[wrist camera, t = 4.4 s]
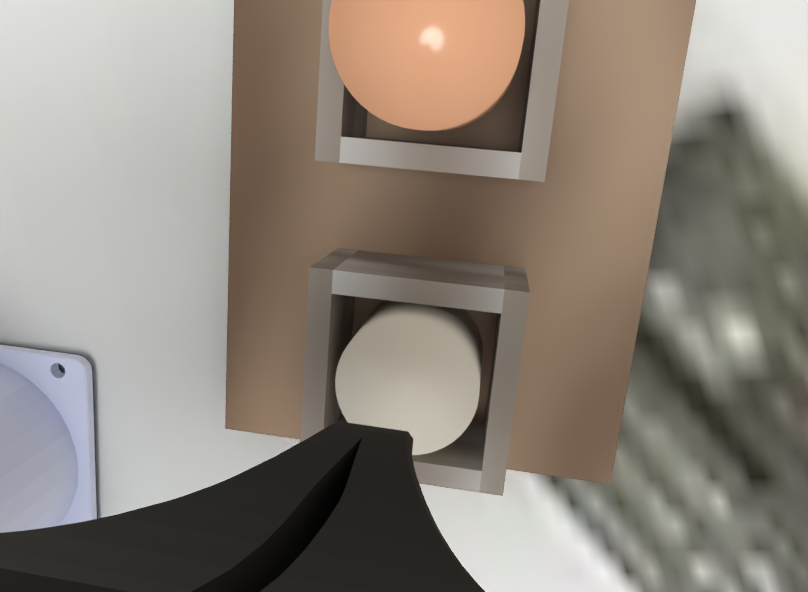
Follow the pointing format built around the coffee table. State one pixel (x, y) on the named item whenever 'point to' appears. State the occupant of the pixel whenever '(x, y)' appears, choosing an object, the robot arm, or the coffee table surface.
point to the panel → (454, 229)
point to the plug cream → (413, 373)
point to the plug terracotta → (427, 57)
